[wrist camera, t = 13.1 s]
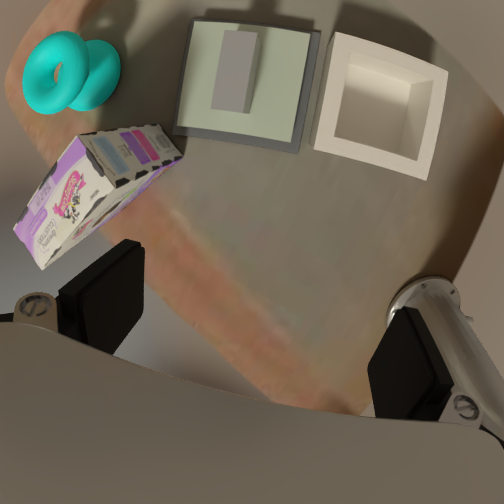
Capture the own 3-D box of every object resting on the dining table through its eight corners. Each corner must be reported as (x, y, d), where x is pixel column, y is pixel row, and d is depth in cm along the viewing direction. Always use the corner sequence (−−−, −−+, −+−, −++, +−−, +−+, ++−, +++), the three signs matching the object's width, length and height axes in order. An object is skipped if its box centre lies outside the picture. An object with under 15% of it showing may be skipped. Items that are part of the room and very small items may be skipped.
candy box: (158, 121, 34) (76, 131, 19) (185, 157, 36) (117, 188, 21) (91, 186, 38) (9, 228, 24) (114, 218, 40) (40, 273, 25)
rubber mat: (320, 34, 28) (320, 33, 27) (297, 153, 34) (297, 154, 34) (192, 19, 28) (191, 18, 28) (173, 134, 35) (171, 134, 34)
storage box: (421, 77, 28) (448, 72, 22) (403, 168, 33) (426, 180, 27) (326, 47, 28) (335, 31, 22) (308, 143, 33) (313, 149, 27)
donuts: (14, 116, 25) (25, 37, 21) (63, 110, 34) (72, 44, 30) (71, 114, 25) (87, 23, 20) (118, 111, 34) (131, 39, 29)
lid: (309, 39, 28) (314, 20, 21) (290, 141, 33) (290, 146, 27) (199, 26, 28) (180, 8, 22) (183, 124, 33) (159, 127, 27)
